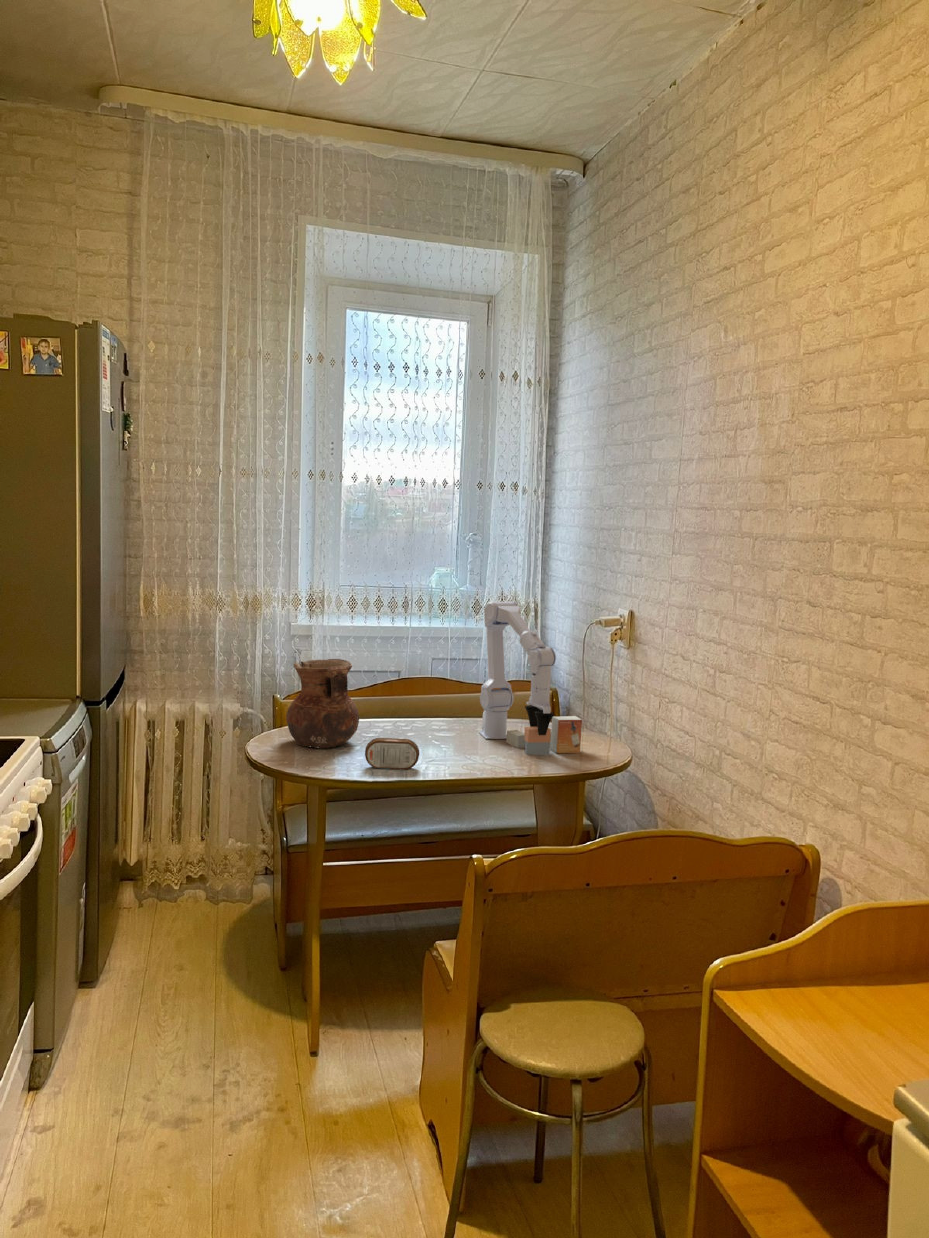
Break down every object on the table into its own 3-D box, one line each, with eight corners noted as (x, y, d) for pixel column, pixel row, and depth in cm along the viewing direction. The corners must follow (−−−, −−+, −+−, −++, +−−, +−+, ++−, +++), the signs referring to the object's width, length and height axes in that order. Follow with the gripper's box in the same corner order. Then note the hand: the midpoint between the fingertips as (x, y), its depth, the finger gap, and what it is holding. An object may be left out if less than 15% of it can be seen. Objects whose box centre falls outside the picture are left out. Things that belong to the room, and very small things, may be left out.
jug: (271, 744, 275) (272, 662, 272) (313, 731, 293) (315, 654, 290) (331, 756, 264) (334, 670, 262) (371, 742, 283) (374, 662, 280)
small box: (556, 753, 278) (557, 719, 277) (549, 749, 284) (551, 715, 283) (580, 753, 281) (582, 719, 279) (573, 748, 286) (575, 715, 285)
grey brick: (517, 748, 284) (517, 735, 283) (506, 743, 290) (507, 730, 290) (527, 747, 285) (527, 734, 285) (516, 742, 292) (516, 729, 291)
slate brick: (524, 752, 279) (525, 739, 279) (547, 752, 280) (548, 739, 279) (526, 754, 276) (526, 741, 275) (549, 755, 276) (550, 742, 276)
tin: (418, 767, 256) (419, 738, 255) (418, 770, 253) (419, 741, 252) (364, 766, 256) (365, 736, 255) (363, 769, 252) (364, 739, 252)
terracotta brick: (524, 739, 278) (525, 726, 278) (546, 739, 280) (546, 726, 279) (528, 742, 275) (528, 729, 274) (550, 742, 276) (550, 729, 276)
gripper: (520, 683, 282) (518, 726, 283) (535, 692, 268) (533, 737, 269) (542, 683, 283) (539, 726, 285) (558, 692, 269) (555, 737, 271)
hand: (538, 732), depth 277 cm, fingers open, 7 cm apart
